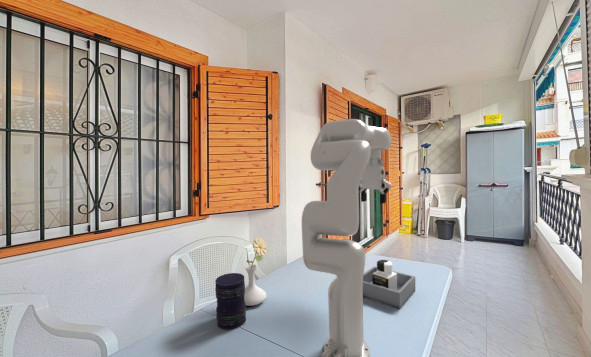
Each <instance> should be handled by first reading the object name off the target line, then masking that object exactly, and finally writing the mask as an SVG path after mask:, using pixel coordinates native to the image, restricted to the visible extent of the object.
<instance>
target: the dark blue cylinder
mask: <svg viewBox="0 0 591 357" xmlns="http://www.w3.org/2000/svg"><path fill="white" fill-rule="evenodd" d="M214 282H215V288H214V289H215V298H216V309H215V312H216V324H217V327H218V328H219V329H221V330H224V331H231V330H236V329H238V328H241V327H242V326H243V325H244V324H245V323H246V320H247V317H246V313H247V309H246V307H247V305H246V304H245V300H244V294H245V288H246V282H245V275H244V274H243V273H237V272H236V273H235V272H231V273H230V272H229V273H225V274H221V275H220V276H218V277H217V278H216V279H215V281H214Z"/></svg>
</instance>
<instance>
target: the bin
mask: <svg viewBox="0 0 591 357" xmlns="http://www.w3.org/2000/svg"><path fill="white" fill-rule="evenodd" d="M376 271H377V266H372V267H371V268H370V269H368V270H367V271H364V274H363V298H365V299H368V300H371V301H373V302H374V301H375V302H377V303H380V304H382V305H386V306H390V307H393V308H396V309H398V310H401V309H402V308H403V306H404V305H405V304H406V303H407V302H408V300H410V298H411V296H413V294H414V293H415V292H416V276H415V275H412V274H406V273H403V272H397V271H395V270H392V272H394V273H397V290H392V289H389V288H385V287H382V286H378V285H375V284H373V273H374V272H376Z"/></svg>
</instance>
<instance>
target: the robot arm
mask: <svg viewBox="0 0 591 357" xmlns="http://www.w3.org/2000/svg"><path fill="white" fill-rule="evenodd" d="M391 144H392V135H391V133H390V131H389V130H388V129H387V128H385V127H378V126H371V125H367V124H365V122H363V121H362V120H360V119H356V118H349V119H340V120H331V121H328V122H326V123H325V124H324V125H323V126H322V127H321V128H320V131H319V132H318V134H317V136H316V138H315V140H314V142H313V145H312V147H311V150H310V161H311V162H310V163H311V165H312V166H313V167H314V169H316V170H318V171H333V173H332V174H331V176H330V177H329V179H328V181H327V184H326V200H312V201H310V202H307V204H305V206H304V208H303V210H302V214H301V243H302V247H301V248H302V260H303V264H304V266H305V267H306V268H307V269H308V270H310V271H314V272H320V273H326V274H331V275H335V276H336V277H335V278H333V280H332V281H331V282H330V284H329V287H328V290H327V297H328V301H327V302H328V304H327V305H328V338H326V340H325V342H324V344H323V352H322V353H321V354H320V357H370V355H371V354H370V353H371V352H370V347H369V345H368V344H367V342H366V341H365V340H364V339H365V338H364V297H363V274H364V273H365V265H366V257H367V256H366V250H365V248H364V246H363V245H362V244H360V243H359V242H357V241H354V240H352V241H350V240H351V239H350V240H342V239H343V238H342V239H339V238H328V237H322V236H323V235H324V236H335V237H352V236H354V235H356V234H357V233H358V231H359V227H360V226H359V225H360V206H359V203H360V202H359V198H360V199H361V200H360V201H361V202H367V200H368V198H367V197H368V196H367V194H368V193H367V192H366V191H367V190H378V191H379V192H380V194H379V203H380V204H382V205H383V204H386V203H387V202H386V201H387V194H388V192H389V191H390V190H391V187H392V185H393V184H392V183H391V182H390V181H387V179H386V171H385V167H384V166H383V165H382V164H384V163H385V160H384V159H383V158H382V151H386V150H389V149H390V147H391ZM359 193H360V197H359ZM321 235H322V236H321Z"/></svg>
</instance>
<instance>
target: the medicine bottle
mask: <svg viewBox="0 0 591 357" xmlns="http://www.w3.org/2000/svg"><path fill="white" fill-rule="evenodd" d="M376 267H377V271H376V272H374V273H373V284H375V285H378V286H382V287H385V288H389V289H392V290H397V273H394V272H392V271H393V263H392V261H391V260H387V259H380V260H377V261H376Z"/></svg>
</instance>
